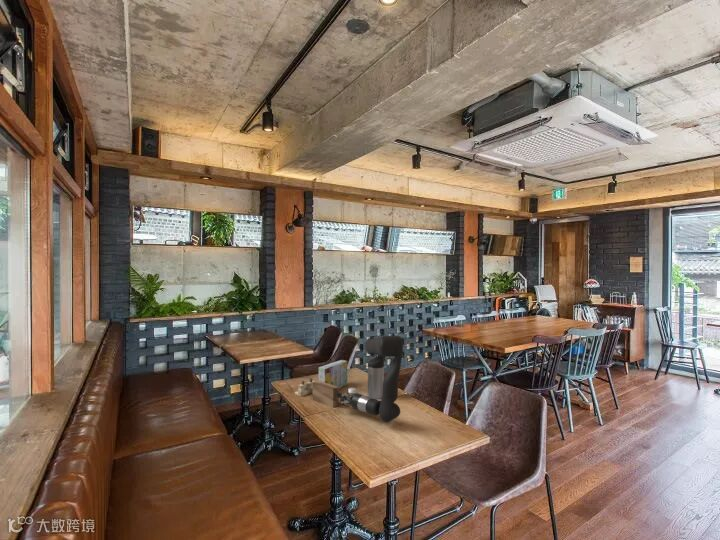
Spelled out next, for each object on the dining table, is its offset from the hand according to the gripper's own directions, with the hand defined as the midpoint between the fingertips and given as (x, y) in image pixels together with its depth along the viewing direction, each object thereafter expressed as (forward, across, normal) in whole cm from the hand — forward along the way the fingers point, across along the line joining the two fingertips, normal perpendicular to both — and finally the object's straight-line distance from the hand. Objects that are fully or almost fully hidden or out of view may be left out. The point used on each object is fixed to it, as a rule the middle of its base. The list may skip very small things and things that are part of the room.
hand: (338, 394), depth 198 cm
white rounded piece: (+2, -13, +7) cm, 15 cm away
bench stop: (+29, -3, +7) cm, 30 cm away
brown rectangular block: (+10, 0, +7) cm, 12 cm away
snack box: (+23, -19, +7) cm, 30 cm away
